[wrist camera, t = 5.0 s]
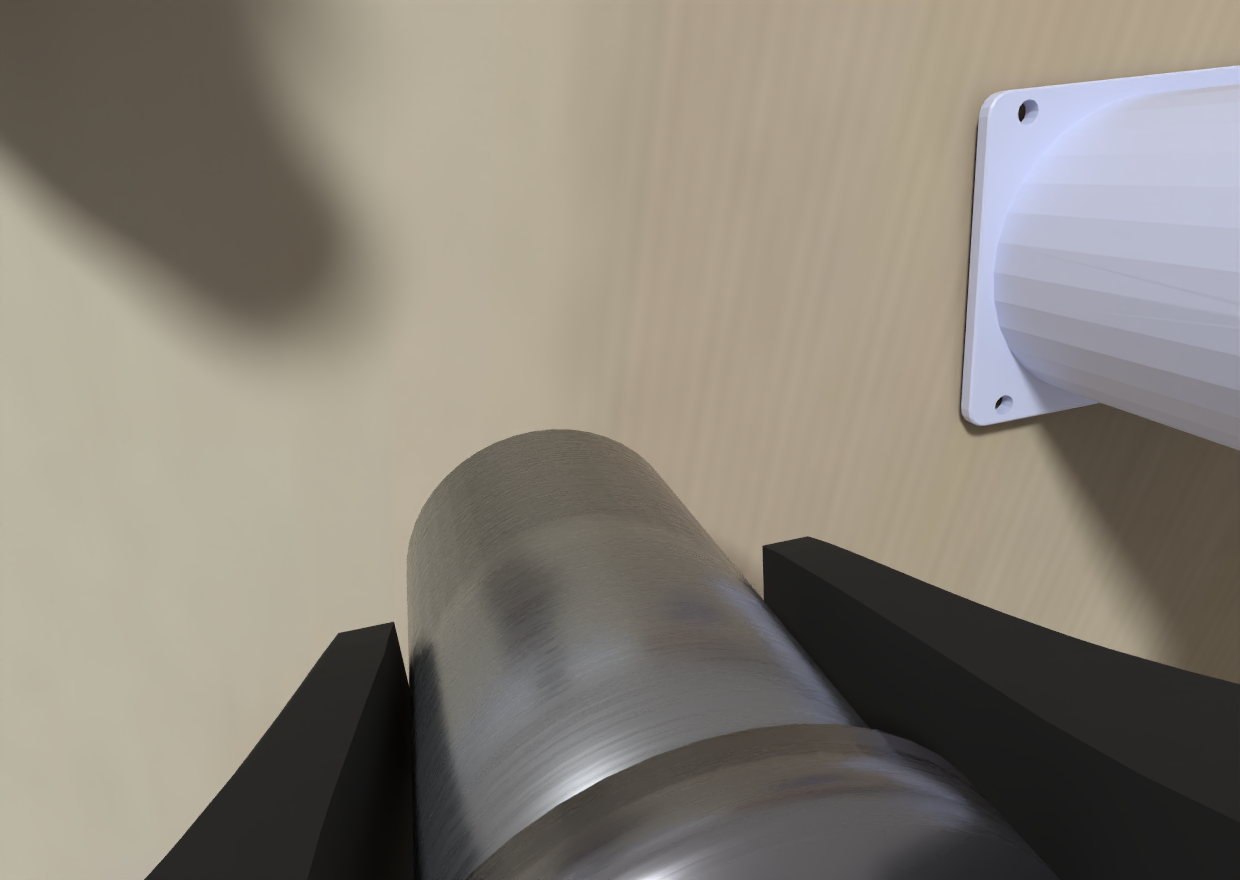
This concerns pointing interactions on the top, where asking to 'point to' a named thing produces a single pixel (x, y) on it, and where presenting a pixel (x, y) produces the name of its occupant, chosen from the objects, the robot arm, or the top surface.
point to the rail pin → (643, 701)
